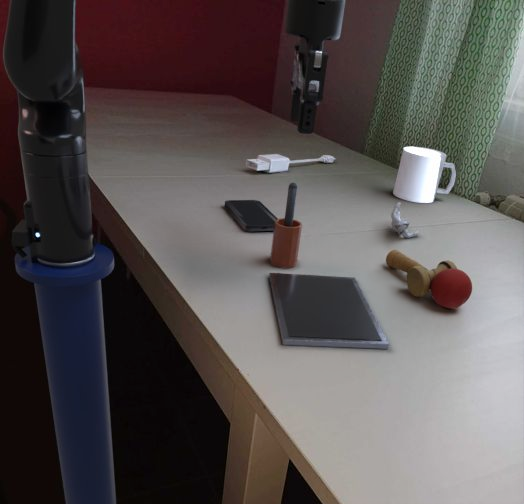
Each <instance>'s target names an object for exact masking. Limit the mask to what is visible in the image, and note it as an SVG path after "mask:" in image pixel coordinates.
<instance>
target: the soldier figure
mask: <svg viewBox="0 0 524 504" xmlns="http://www.w3.org/2000/svg"><path fill="white" fill-rule="evenodd" d="M401 204H402V203H401V202H397V203H395V206H394V207H393V209H392V212H391V215H390V217H391V220H392V221H391V223H390V226H391V228H392V229H393V231H394V232H395V233H398V236H399V237H400V236H402V237H404V238H405V239H409V238H413V237H416V236H419V235H420V231H418V230H416V231H415V232H412V233H409V231H408V227H409V226H410V222H408V218H407V217H403V218H401V210H402V208H400V207H401V206H400V205H401Z"/></svg>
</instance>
